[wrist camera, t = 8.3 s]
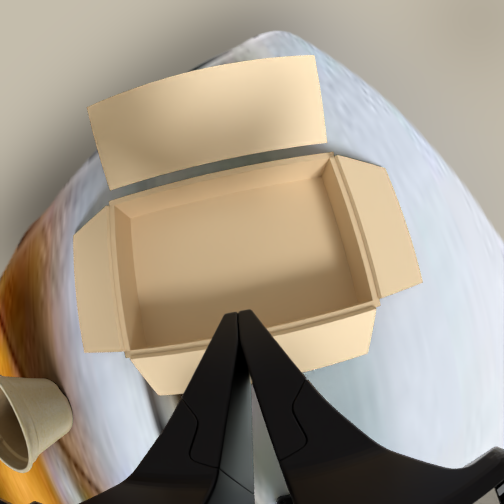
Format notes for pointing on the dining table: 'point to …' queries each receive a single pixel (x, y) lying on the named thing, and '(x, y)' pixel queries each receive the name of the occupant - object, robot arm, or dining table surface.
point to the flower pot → (30, 419)
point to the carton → (243, 264)
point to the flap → (208, 117)
